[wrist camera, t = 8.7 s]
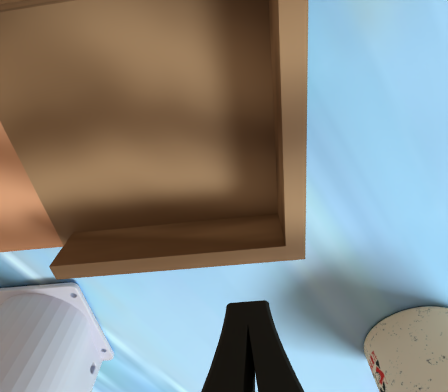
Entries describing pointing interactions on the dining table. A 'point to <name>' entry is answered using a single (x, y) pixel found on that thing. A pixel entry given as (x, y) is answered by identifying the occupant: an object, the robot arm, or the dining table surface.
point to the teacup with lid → (410, 351)
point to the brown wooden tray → (153, 132)
